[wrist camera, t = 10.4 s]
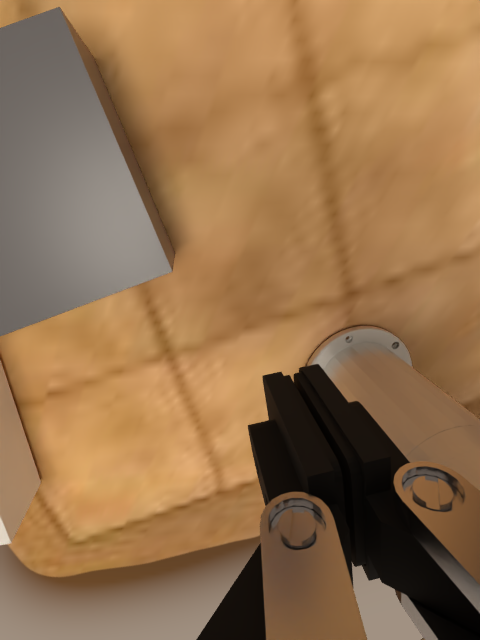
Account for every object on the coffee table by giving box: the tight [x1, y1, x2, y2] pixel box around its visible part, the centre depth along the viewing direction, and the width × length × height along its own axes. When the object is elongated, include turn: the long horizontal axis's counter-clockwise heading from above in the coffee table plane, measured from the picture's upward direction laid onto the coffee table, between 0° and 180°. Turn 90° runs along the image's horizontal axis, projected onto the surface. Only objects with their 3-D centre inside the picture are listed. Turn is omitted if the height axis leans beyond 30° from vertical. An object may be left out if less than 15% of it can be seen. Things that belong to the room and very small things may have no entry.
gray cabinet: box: [0, 7, 175, 336], centre depth 26 cm, size 16×20×8 cm
